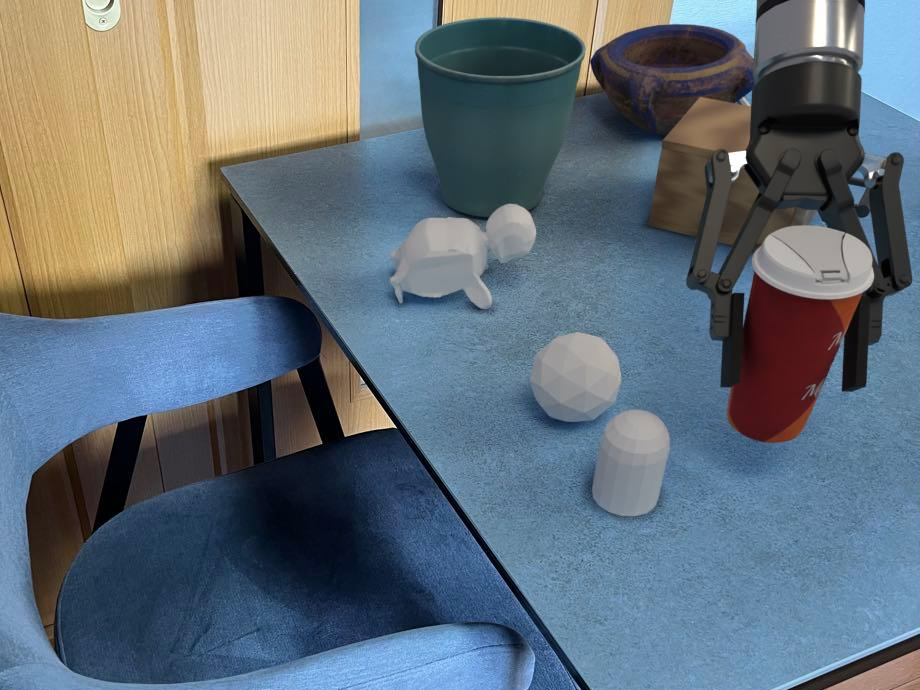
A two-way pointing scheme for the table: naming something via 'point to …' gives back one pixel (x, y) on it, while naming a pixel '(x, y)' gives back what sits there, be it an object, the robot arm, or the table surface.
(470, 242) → the white turtle figurine
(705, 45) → the bowl
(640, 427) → the capsule
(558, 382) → the geometric ball
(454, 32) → the flower pot
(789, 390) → the coffee cup
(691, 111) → the cabinet
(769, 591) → the table surface
